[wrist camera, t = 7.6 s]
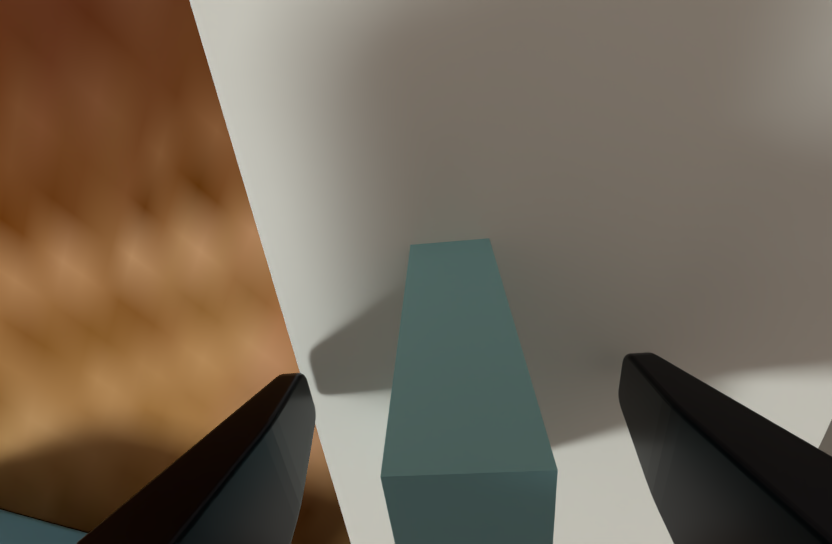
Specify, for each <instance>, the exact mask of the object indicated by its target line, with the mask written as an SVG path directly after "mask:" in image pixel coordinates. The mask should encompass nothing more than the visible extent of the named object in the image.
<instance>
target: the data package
mask: <svg viewBox="0 0 832 544" xmlns="http://www.w3.org/2000/svg"><path fill="white" fill-rule="evenodd" d="M87 534H88V533H85V532H81V531H78V530H74V529H70V528H67V527H63V526H59V525H56V524H52V523H48V522H45V521H41V520H37V519H34V518H30V517H26V516H23V515H19V514H15V513H12V512H8V511H4V510H1V509H0V544H77V542H78V541H79V540H81V539H82V538H83V537H84V536H85V535H87Z"/></svg>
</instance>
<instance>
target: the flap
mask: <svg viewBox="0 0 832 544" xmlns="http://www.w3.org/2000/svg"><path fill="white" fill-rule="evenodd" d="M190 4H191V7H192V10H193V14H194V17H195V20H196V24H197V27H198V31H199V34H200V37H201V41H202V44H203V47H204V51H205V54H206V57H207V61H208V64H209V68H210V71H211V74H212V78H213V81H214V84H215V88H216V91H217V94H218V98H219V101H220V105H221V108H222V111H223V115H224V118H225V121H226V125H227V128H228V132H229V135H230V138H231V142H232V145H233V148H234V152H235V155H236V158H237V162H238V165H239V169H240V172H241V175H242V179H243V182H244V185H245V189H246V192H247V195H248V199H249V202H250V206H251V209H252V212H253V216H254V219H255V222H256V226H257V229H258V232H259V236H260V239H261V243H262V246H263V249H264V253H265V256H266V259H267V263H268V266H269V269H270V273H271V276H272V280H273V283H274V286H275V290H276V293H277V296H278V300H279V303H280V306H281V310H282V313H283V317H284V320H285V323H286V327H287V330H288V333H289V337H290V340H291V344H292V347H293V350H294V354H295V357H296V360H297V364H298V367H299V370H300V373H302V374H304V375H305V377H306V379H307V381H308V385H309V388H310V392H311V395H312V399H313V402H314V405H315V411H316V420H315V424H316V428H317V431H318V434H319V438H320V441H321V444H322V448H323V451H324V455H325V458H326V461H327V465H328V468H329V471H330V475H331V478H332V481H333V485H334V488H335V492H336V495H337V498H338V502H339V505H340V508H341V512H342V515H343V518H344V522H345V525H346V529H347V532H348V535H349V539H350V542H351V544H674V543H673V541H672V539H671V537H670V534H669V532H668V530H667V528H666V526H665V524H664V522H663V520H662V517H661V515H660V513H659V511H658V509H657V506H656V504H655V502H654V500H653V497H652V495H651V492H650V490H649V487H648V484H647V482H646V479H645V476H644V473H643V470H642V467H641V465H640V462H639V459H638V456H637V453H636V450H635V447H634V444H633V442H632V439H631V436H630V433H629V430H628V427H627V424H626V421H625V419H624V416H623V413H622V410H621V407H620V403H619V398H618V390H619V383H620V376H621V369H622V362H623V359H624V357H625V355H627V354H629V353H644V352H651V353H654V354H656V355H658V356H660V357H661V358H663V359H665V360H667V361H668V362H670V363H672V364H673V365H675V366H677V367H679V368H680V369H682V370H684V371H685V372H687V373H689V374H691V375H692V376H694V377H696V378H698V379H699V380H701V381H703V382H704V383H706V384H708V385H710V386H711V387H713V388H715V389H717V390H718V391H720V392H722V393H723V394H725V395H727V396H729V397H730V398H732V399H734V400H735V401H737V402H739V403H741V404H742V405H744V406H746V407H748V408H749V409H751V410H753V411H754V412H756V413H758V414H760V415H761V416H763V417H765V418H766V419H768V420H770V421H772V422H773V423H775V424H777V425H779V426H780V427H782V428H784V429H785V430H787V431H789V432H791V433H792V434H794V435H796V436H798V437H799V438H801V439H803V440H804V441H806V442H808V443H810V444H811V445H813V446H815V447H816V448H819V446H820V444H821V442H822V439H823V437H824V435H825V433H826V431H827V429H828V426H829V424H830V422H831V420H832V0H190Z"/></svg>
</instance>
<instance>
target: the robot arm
mask: <svg viewBox="0 0 832 544" xmlns="http://www.w3.org/2000/svg"><path fill="white" fill-rule="evenodd" d="M618 398H619V403H620V407H621V410H622V413H623V416H624V419H625V421H626V424H627V427H628V430H629V433H630V436H631V439H632V442H633V444H634V447H635V450H636V453H637V456H638V459H639V462H640V465H641V467H642V470H643V473H644V476H645V479H646V482H647V484H648V487H649V490H650V492H651V495H652V497H653V500H654V502H655V504H656V506H657V509H658V511H659V513H660V515H661V517H662V520H663V522H664V524H665V526H666V528H667V530H668V532H669V534H670V537H671V539H672V541H673V543H674V544H832V456H830V455H829V454H827V453H825V452H823V451H822V450H820V449H818V448H816V447H815V446H813V445H811V444H810V443H808V442H806V441H804V440H803V439H801V438H799V437H798V436H796V435H794V434H792V433H791V432H789V431H787V430H785V429H784V428H782V427H780V426H779V425H777V424H775V423H773V422H772V421H770V420H768V419H766V418H765V417H763V416H761V415H760V414H758V413H756V412H754V411H753V410H751V409H749V408H748V407H746V406H744V405H742V404H741V403H739V402H737V401H735V400H734V399H732V398H730V397H729V396H727V395H725V394H723V393H722V392H720V391H718V390H717V389H715V388H713V387H711V386H710V385H708V384H706V383H704V382H703V381H701V380H699V379H698V378H696V377H694V376H692V375H691V374H689V373H687V372H685V371H684V370H682V369H680V368H679V367H677V366H675V365H673V364H672V363H670V362H668V361H667V360H665V359H663V358H661V357H660V356H658V355H656V354H654V353H651V352H644V353H629V354H627V355H625V357H624V359H623V362H622V369H621V376H620V383H619V390H618ZM315 420H316V411H315V405H314V402H313V399H312V395H311V392H310V388H309V385H308V381H307V379H306V377H305V375H304V374H302V373H291V374H281V375H279V376H278V377H276V378H275V379H274V380H273V381H271V382H270V383H269V384H268V385H267V386H265V387H264V388H263V389H262V390H261V391H259V392H258V393H257V394H256V395H255V396H253V397H252V398H251V399H250V400H248V401H247V402H246V403H245V404H244V405H242V406H241V407H240V408H239V409H238V410H236V411H235V412H234V413H233V414H232V415H230V416H229V417H228V418H227V419H226V420H224V421H223V422H222V423H221V424H220V425H218V426H217V427H216V428H215V429H213V430H212V431H211V432H210V433H209V434H207V435H206V436H205V437H204V438H203V439H201V440H200V441H199V442H198V443H197V444H195V445H194V446H193V447H192V448H191V449H189V450H188V451H187V452H186V453H184V454H183V455H182V456H181V457H180V458H178V459H177V460H176V461H175V462H174V463H172V464H171V465H170V466H169V467H168V468H166V469H165V470H164V471H163V472H162V473H160V474H159V475H158V476H157V477H156V478H154V479H153V480H152V481H151V482H149V483H148V484H147V485H146V486H145V487H143V488H142V489H141V490H140V491H139V492H137V493H136V494H135V495H134V496H133V497H131V498H130V499H129V500H128V501H127V502H125V503H124V504H123V505H122V506H120V507H119V508H118V509H117V510H116V511H114V512H113V513H112V514H111V515H110V516H108V517H107V518H106V519H105V520H104V521H102V522H101V523H100V524H99V525H98V526H96V527H95V528H94V529H93V530H91V531H90V532H89V533H88V534H87V535H85V536H84V537H83V538H82V539H81V540H79V541H78V542H77V544H291V541H292V538H293V534H294V530H295V527H296V523H297V519H298V515H299V511H300V507H301V502H302V497H303V492H304V486H305V480H306V474H307V468H308V462H309V456H310V450H311V444H312V439H313V433H314V427H315Z"/></svg>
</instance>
